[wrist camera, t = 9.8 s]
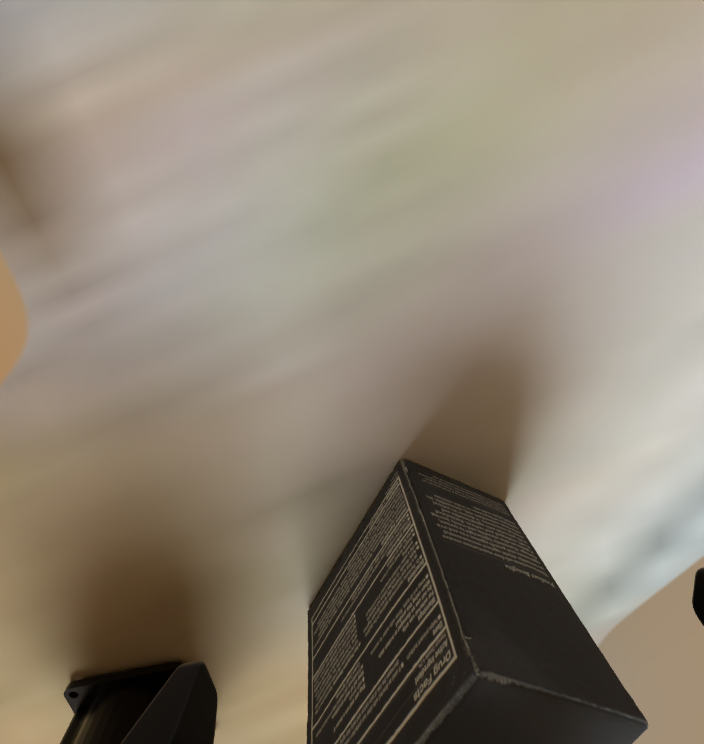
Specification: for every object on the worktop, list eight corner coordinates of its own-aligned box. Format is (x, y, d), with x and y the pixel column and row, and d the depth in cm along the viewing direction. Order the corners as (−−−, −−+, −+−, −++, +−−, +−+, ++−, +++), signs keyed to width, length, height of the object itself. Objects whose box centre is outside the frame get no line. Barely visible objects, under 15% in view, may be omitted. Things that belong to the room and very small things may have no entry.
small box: (409, 646, 25) (466, 931, 15) (303, 611, 24) (290, 899, 14) (513, 501, 22) (669, 737, 12) (399, 453, 21) (468, 673, 11)
